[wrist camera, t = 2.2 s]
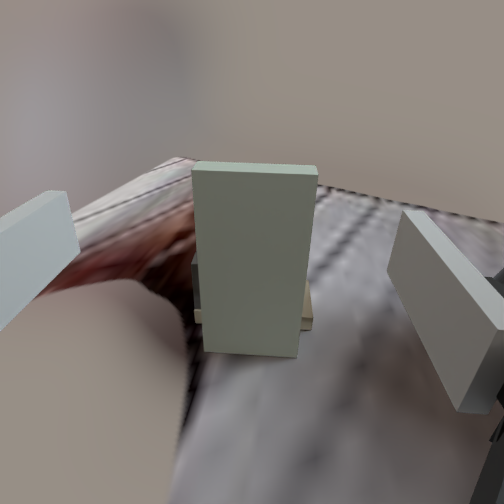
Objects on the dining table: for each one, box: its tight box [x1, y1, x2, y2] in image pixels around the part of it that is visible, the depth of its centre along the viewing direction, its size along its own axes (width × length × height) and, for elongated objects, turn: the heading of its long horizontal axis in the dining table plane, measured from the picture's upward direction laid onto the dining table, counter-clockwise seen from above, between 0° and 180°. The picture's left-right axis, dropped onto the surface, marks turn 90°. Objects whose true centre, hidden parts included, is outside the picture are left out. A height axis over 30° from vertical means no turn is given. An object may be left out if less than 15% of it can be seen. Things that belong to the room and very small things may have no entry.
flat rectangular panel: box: [191, 161, 318, 358], centre depth 27 cm, size 8×3×16 cm, turn 86°
